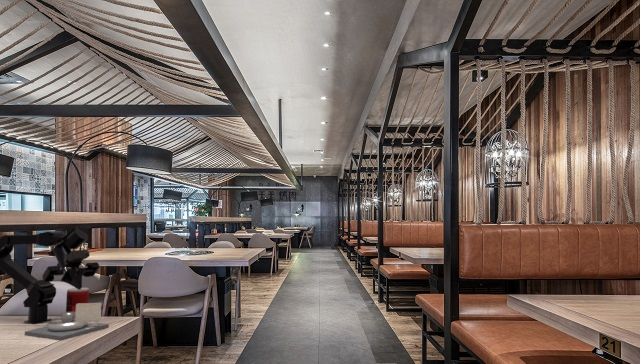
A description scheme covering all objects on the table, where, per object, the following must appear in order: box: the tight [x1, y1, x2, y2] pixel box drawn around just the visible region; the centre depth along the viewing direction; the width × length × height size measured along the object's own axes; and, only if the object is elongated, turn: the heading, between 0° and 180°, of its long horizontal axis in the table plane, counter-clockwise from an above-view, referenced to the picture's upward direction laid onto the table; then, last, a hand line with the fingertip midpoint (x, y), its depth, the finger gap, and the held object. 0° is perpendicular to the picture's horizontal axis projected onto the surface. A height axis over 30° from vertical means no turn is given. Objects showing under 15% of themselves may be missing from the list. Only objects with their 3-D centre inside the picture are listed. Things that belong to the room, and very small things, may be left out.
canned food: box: [65, 287, 90, 316], centre depth 171 cm, size 8×8×11 cm
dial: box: [47, 302, 102, 331], centre depth 148 cm, size 16×12×8 cm
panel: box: [24, 321, 110, 341], centre depth 147 cm, size 18×18×1 cm
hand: (80, 288), depth 156 cm, fingers closed
